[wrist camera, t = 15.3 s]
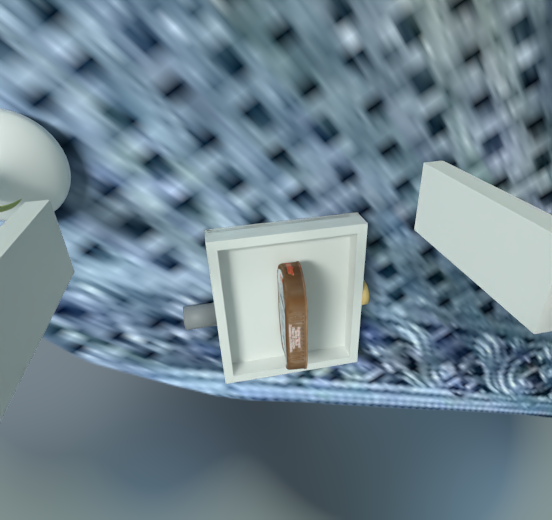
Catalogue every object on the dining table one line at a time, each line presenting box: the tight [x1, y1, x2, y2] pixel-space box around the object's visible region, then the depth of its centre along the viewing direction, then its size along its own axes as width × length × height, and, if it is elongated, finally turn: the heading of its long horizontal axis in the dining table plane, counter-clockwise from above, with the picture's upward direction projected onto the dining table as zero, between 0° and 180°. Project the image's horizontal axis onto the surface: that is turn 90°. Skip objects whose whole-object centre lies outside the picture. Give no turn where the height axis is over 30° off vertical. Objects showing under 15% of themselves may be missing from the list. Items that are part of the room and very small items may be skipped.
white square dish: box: [183, 212, 369, 384], centre depth 54 cm, size 24×22×4 cm
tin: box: [277, 261, 308, 370], centre depth 51 cm, size 15×3×8 cm, turn 2°
